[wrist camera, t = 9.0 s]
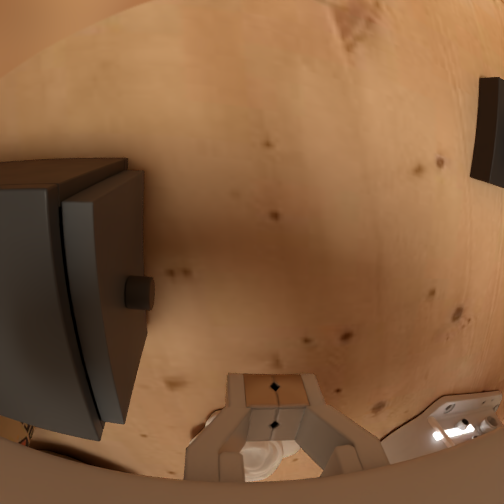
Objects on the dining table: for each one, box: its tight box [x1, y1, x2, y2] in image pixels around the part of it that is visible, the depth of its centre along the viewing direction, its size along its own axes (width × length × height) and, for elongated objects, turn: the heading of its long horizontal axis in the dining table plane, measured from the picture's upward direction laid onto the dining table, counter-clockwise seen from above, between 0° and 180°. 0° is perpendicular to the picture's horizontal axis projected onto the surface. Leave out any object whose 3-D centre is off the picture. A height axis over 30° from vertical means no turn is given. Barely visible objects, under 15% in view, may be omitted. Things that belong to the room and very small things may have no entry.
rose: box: [189, 410, 300, 482], centre depth 24 cm, size 10×4×10 cm
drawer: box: [58, 170, 155, 424], centre depth 14 cm, size 15×10×8 cm
